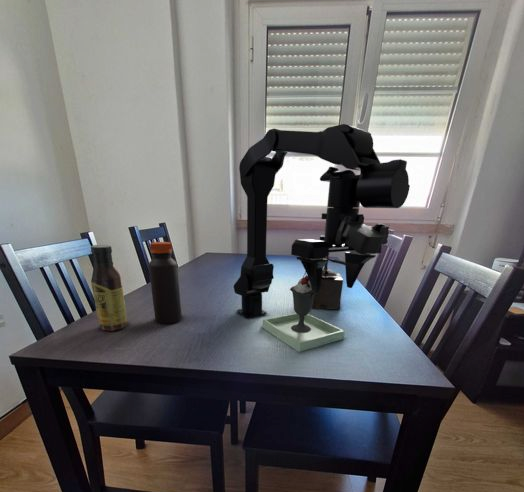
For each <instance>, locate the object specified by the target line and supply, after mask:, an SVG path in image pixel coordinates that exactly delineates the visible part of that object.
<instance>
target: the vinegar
mask: <svg viewBox="0 0 524 492" xmlns="http://www.w3.org/2000/svg"><path fill="white" fill-rule="evenodd" d="M149 247H150V253H151V255H152V259H151V260H150V261H149V263H148V272H149V280H150V288H151V296H152V297H151V298H152V306H153V312H154V321H155V322H156V323H158V324H162V325H169V324H175V323H178V322H180V321H182V318H183V316H182V304H181V293H180V283H179V282H180V281H179V271H178V270H179V269H178V263H177V261H176V260H175V259H173V258H172V254H173V245H172V242H169V241H153V242H150V243H149Z"/></svg>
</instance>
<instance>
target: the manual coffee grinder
mask: <svg viewBox="0 0 524 492" xmlns="http://www.w3.org/2000/svg"><path fill="white" fill-rule="evenodd" d="M323 259H327V260H328V262H327V263H326V264H325V266H324V267H323V270H322V278H321V286H320V291H319V293H318V294H315V296H314V299H313V304H312V308H311V309H314V310H315V309H317V310H341V300H342V294H343V293H342V291H343V286H344V279H343V277H342V275H341V273H336V272H335V271H333V270H331V269H329V268H328V265H329V262H331V263H336V264H339V265H344V266H345V261H342V260H338V259H333V258H331V257H330V252H329V253H328V255H327V256H326V257H325V258H323Z"/></svg>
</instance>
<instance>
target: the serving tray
mask: <svg viewBox="0 0 524 492" xmlns="http://www.w3.org/2000/svg"><path fill="white" fill-rule="evenodd" d="M298 323H299V315H298V314H297V313H296V312H294V313H289V314H284V315H279V316H274V317H268V318H265V319H262V328H263V329H264V330H266V331H268V332H269V333H271V334H272V335H273V336H275V337H276V338H278V339H279V340H281V341H282V342H284V343H285V344H287V345H289V346H290V347H292V348H293V349H295V350H296V351H298V352H299V353H300V352H304V351H307V350H311V349H314V348H316V347H321V346H323V345H328V344H330V343H334V342H338V341H341V340H344V339H345V338H344V337H345V332H346V331H345V330H344V329H343V328H339V327H338V326H335V325H334V324H332V323H329V322H327V321H325V320H322V319H321V318H318V317H316V316H314V315H312V314H310V313H308V314H307V315H306V316H305V317H304V324H305V325H307V326H309V327H310V328H311V330H310V331H309V332H304V333H301V332H296V331H293V330H292V329H291V327H292V326H293V325H296V324H298Z"/></svg>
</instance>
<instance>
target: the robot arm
mask: <svg viewBox="0 0 524 492" xmlns="http://www.w3.org/2000/svg"><path fill="white" fill-rule="evenodd" d="M272 152H275V153H274V154H273V155H272V156H271V157H270V156H268V155H270V154H271V153H272ZM288 153H289V154H298V155H307V156H314V157H317V158H320V159H321V160H323V161H325V162H328V163H330V164H333V165H336V166H343V167H344V168H345V169H343V170H339V168H338V167H336V166H335V167H334V166H329V167H328V168H327V170H326V171H325V172H324V173H323V174H322V175H321V176H320V177H319V181H320V182H326V183H328V184H329V185H328V194H327V203H326V204H327V205H326V213H325V212H323V213H322V212H321V220H325V225H324V235H319V239H313V238H300V239H294V241H293V243H292V244H291V253H290V254H291V256H295V257H296V260H297V261H300V262H301V265H302V267H303V269H304V272H305V271H306V275H307V276H308V278H309V281H310V283H311V286H312V289H313V291H314V293H316V294H318V293H319V291H320V286H321V278H322V270H323V269H324V266H325V264H326V263H327V262H328V263H329V260H327V259H324V258H325V257H326V256H327V255H328V253H329V254H330V253H340V252H344V262H345V265H344V266H345V283H346V287H347V288H349V289H352V288H353V286H354V285H355V283H356V281H357V279H358V277H359V275H360V273H361V272H362V269H363V268H364V266H365V265H366V263H367V262H369V261H370V260H372V259H375V258H376V256H377V255H376V254H381V253H382V248H383V245H387V244H388V238H389V233H390V226H388V225H386V224H385V223H376V224H375V225H374V226H373V225H367V224H365V216H364V214H362V213H360V207H362V208H364V209H400V208H402V206H404V204H405V203H406V201H407V199H408V195H409V193H410V187H411V186H410V182H409V181H410V180H409V179H410V178H409V173H408V171H407V164H408V161H407V160H405V159H401V158H400V159H399V158H398V159H392V160H390V161H386V162H381V161H380V159H379V157H378V155H377V153H376V151H375V149H374V138H373V135H372V133H371V132H369V130H364V129H361V128H358V127H356V126H353V125H349V124H346V123H342V124H338V125H333V126H328V127H326V128H325V129H323V130H320V131H308V130H307V131H306V130H304V131H303V130H288V129H287V130H285V129H284V130H283V129H278V128H271V129H269V130H267V132H266V133H265V135H264V136H263V138H261V139H260V140H258V141H257V142H256V143H254V144H253V145H251V146H250V147H249V148H248V149H247V151H246V152H245V154H244V155H243V157H242V158H241V160H240V162H239V168H238V171H239V179H240V185H241V187H242V190H243V191H244V193H245V195H246V256H245V259H244V261H243V262H242V265H241V266H240V274H239V275H240V276H239V278H238V279H237V280H236V282H235V283H234V284H233V290H234V294H236V295H238V296H241V308H237V309H236V312H237V313H239V314H240V315H241V316H243V317H244V318H247V319H248V318H249V319H250V318H254V317H255V318H256V317H259V316H264V315H267V311H264V310H263V293H269V291H270V288H271V285H272V283H273V280H274V269H275V265H274V263H270V261H269V259H268V258H267V233H268V231H267V229H268V200H269V199H268V197H269V195H270V193H271V192H272V190H273V188H274V186H275V182H276V181H275V180H276V175H277V174H278V172H279V171H280V170H282V168H283V166H284V162H285V157H286V155H287V154H288ZM353 170H354V171H357V172H359V174H356V173H355V172H354V171H353ZM360 205H361V206H360Z"/></svg>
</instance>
